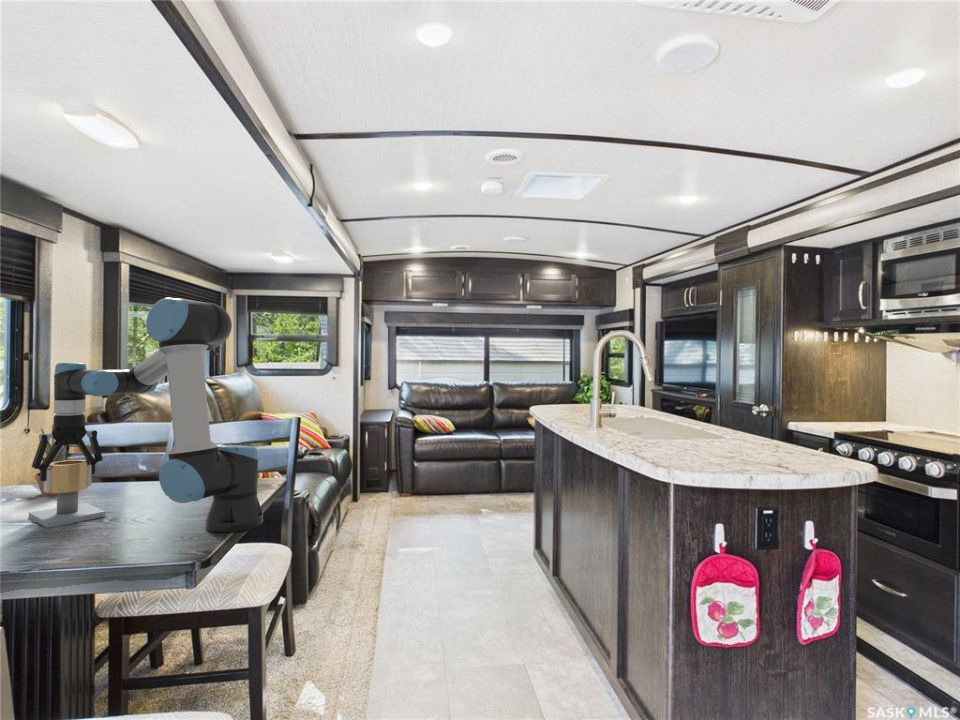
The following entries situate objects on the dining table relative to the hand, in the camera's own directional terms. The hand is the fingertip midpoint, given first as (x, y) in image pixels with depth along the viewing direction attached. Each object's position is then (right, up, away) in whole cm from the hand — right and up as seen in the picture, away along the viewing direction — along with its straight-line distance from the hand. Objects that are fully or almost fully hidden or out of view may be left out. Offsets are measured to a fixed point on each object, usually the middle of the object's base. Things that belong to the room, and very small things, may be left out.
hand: (67, 488), depth 156 cm
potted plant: (-27, -9, +27) cm, 39 cm away
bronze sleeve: (0, 0, 0) cm, 0 cm away
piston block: (0, -9, 0) cm, 9 cm away
